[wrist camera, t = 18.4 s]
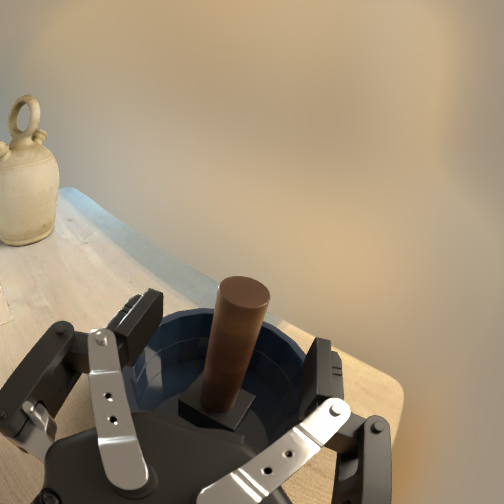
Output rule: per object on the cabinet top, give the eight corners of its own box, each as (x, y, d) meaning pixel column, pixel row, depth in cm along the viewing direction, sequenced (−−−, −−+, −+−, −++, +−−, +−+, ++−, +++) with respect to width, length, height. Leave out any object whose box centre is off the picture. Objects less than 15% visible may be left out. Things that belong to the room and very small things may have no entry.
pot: (309, 395, 25) (337, 352, 22) (251, 515, 13) (278, 504, 10) (190, 337, 30) (195, 287, 26) (100, 423, 17) (80, 379, 14)
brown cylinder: (248, 411, 22) (298, 291, 16) (228, 444, 19) (274, 332, 12) (201, 386, 24) (223, 259, 17) (177, 415, 20) (183, 288, 14)
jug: (35, 209, 47) (38, 95, 35) (76, 226, 44) (82, 90, 33) (-18, 235, 33) (-24, 104, 22) (14, 261, 31) (6, 95, 20)
